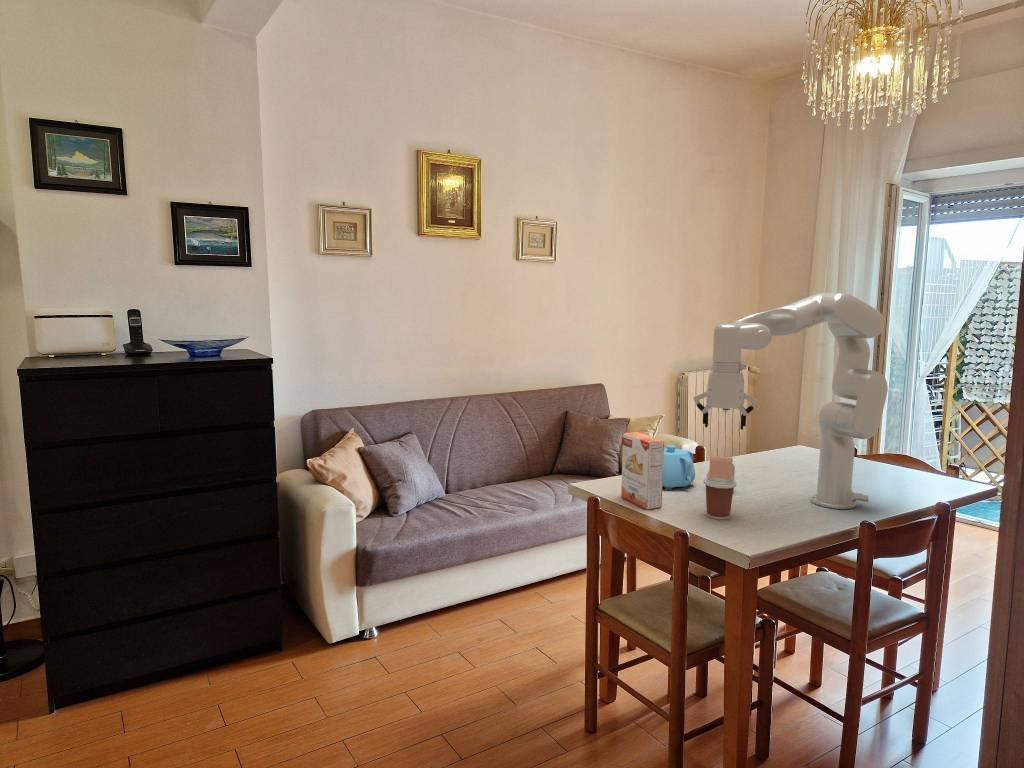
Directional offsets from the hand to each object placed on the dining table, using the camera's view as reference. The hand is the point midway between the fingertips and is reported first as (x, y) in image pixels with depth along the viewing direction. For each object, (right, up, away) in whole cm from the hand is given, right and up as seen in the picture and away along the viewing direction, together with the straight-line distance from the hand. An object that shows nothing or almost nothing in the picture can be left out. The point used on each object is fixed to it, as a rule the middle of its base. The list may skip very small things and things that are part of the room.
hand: (724, 427), depth 189 cm
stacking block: (-1, -14, +2) cm, 14 cm away
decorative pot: (-7, -22, +35) cm, 42 cm away
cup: (+7, -23, +28) cm, 37 cm away
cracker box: (-21, -24, +15) cm, 35 cm away
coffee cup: (-1, -26, +3) cm, 26 cm away
